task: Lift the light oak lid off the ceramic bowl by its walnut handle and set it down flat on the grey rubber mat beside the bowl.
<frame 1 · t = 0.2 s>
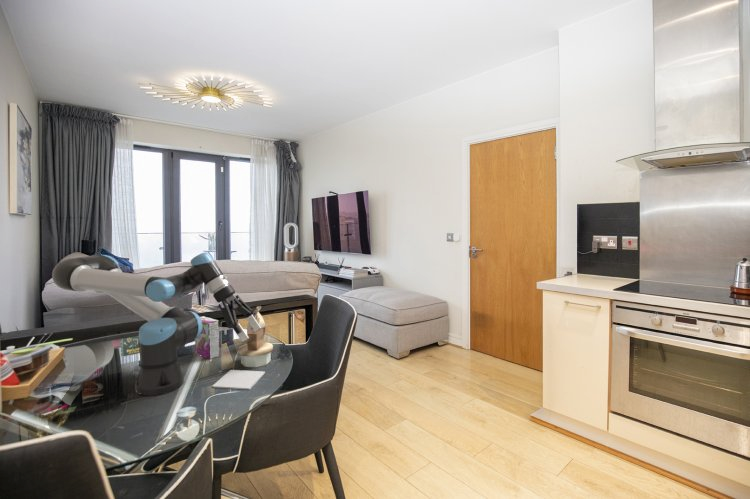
hand: (252, 334, 141), 16 cm above the table, tool tilted 35°, fingers open, 13 cm apart
mat: (239, 379, 137), on the table
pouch: (256, 345, 174), on the table
candy bar box: (207, 355, 160), on the table
bowl: (256, 361, 154), on the table
lid: (255, 350, 154), point 5 cm above the table, touching bowl
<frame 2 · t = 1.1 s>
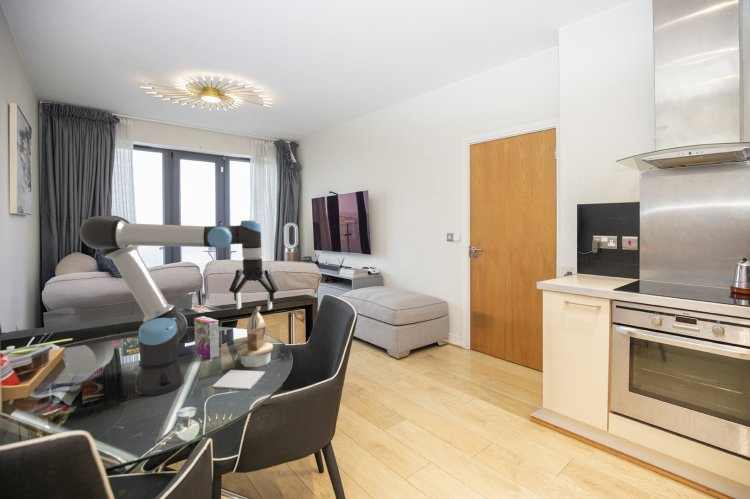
hand: (254, 308, 151), 23 cm above the table, tool pointing down, fingers open, 13 cm apart
nothing on the table moved.
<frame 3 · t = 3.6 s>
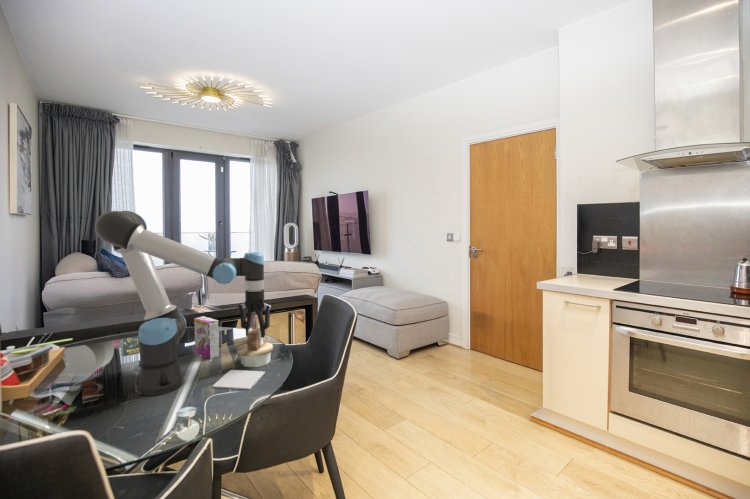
hand: (255, 344, 153), 8 cm above the table, tool pointing down, fingers closed on lid, 4 cm apart
lid: (255, 350, 154), point 5 cm above the table, touching bowl, gripper
everything else where it was.
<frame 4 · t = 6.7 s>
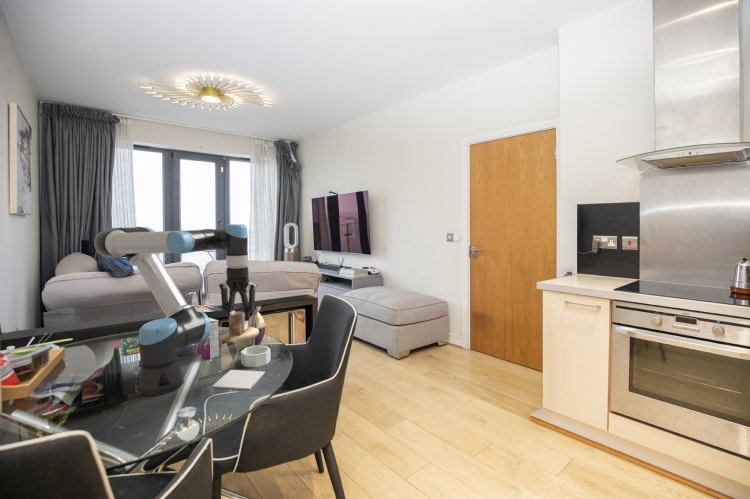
hand: (239, 328, 135), 20 cm above the table, tool pointing down, fingers closed on lid, 4 cm apart
lid: (239, 335, 135), point 17 cm above the table, touching gripper
everything else where it was.
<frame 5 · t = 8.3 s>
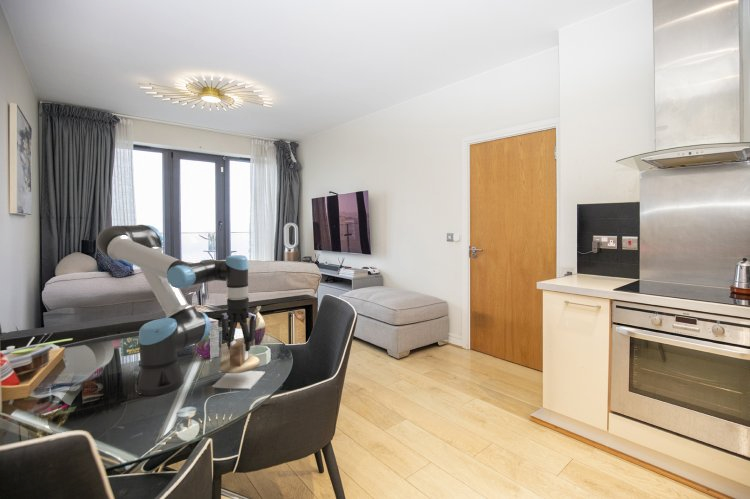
hand: (239, 358, 136), 8 cm above the table, tool pointing down, fingers closed on lid, 4 cm apart
lid: (239, 365, 136), point 6 cm above the table, touching gripper
everything else where it was.
when the fingers open (5 cm above the table, at t = 9.7 s): lid drops 1 cm, resting on mat.
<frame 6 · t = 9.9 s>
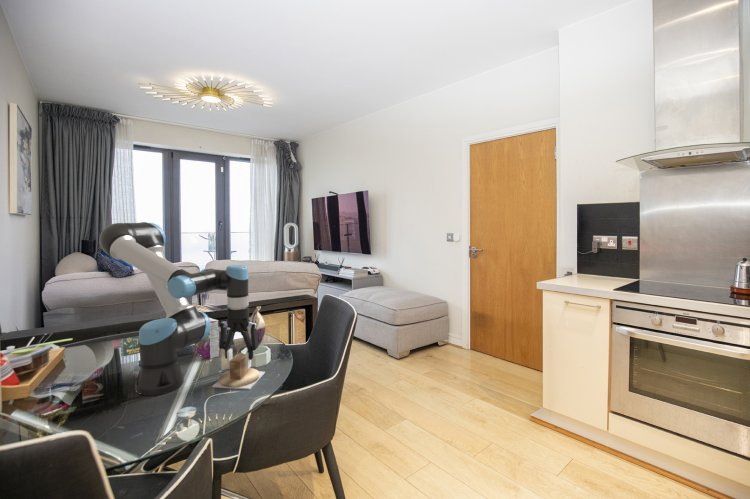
hand: (239, 367, 137), 5 cm above the table, tool pointing down, fingers open, 7 cm apart
lid: (239, 378, 137), point 1 cm above the table, touching mat
everything else where it was.
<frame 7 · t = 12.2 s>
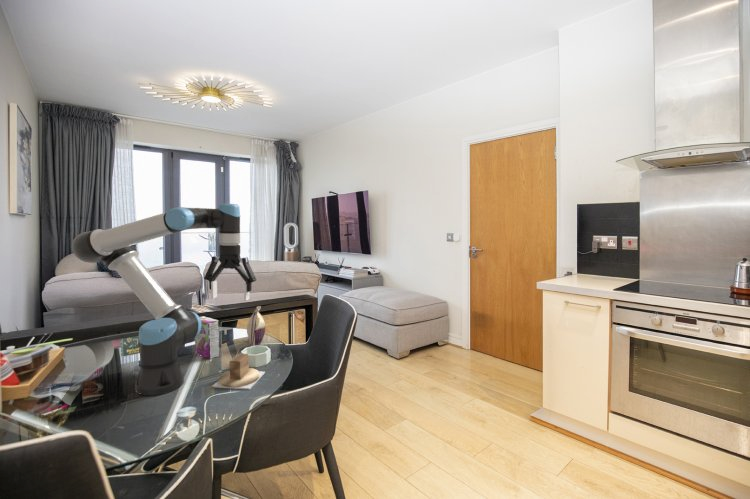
hand: (230, 298, 141), 29 cm above the table, tool pointing down, fingers open, 13 cm apart
nothing on the table moved.
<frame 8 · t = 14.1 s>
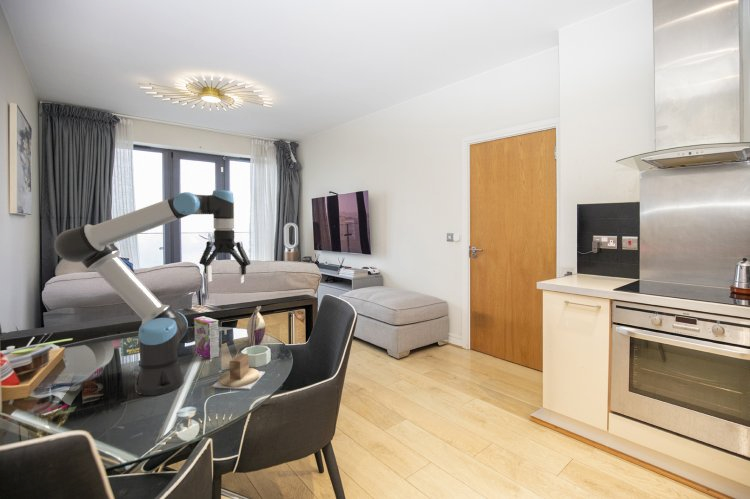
hand: (225, 282, 147), 35 cm above the table, tool pointing down, fingers open, 13 cm apart
nothing on the table moved.
at the end: lid inside the target area on the mat (0.0 cm from its centre), point 0.5 cm above the mat's base; lid tilted 0°; lid touching mat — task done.
